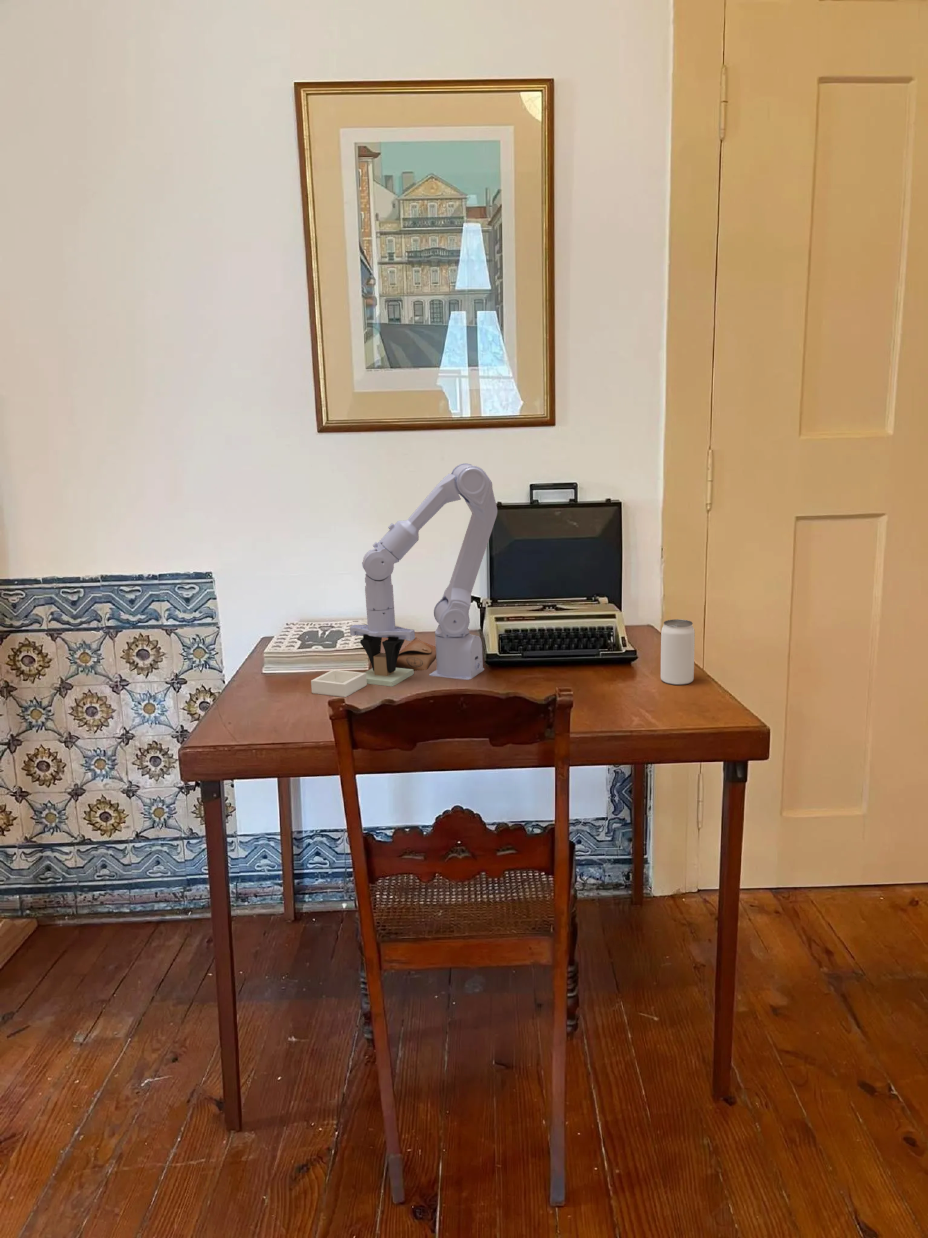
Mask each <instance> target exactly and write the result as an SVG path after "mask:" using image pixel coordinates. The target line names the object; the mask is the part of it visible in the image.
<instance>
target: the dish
mask: <svg viewBox="0 0 928 1238" xmlns="http://www.w3.org/2000/svg"><path fill="white" fill-rule="evenodd" d="M310 686H311V694H314V695H315V694H317V695H322V696H331V697H339V698H347V697H349V696H351V695H353V694H354V693H356V692H358V691H359V690H361V689H363V688H365V687H367V686H368V684H367V679H366V673H364V672H359V671H351V670H341V669H331V670H329V671H327V672H326V673H323V674H321V675H320V676H317V677H315V678H314V679H311V680H310Z"/></svg>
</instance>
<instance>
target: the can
mask: <svg viewBox="0 0 928 1238" xmlns="http://www.w3.org/2000/svg"><path fill="white" fill-rule="evenodd" d="M693 624H694V622H693V621H691V620H688V619H678V618H677V619H668V620H664V621H663V626H662V628H661V631H660V632H661V634H660V680H661V681H662V682H663V683H665V684H667V685H674V686H684V685H685V686H686V685H689V684H691V683H692V682H693V681H694V679H695V677H694V675H695V636H696V635H695V633H696V632H695V628H694V626H693Z"/></svg>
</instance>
